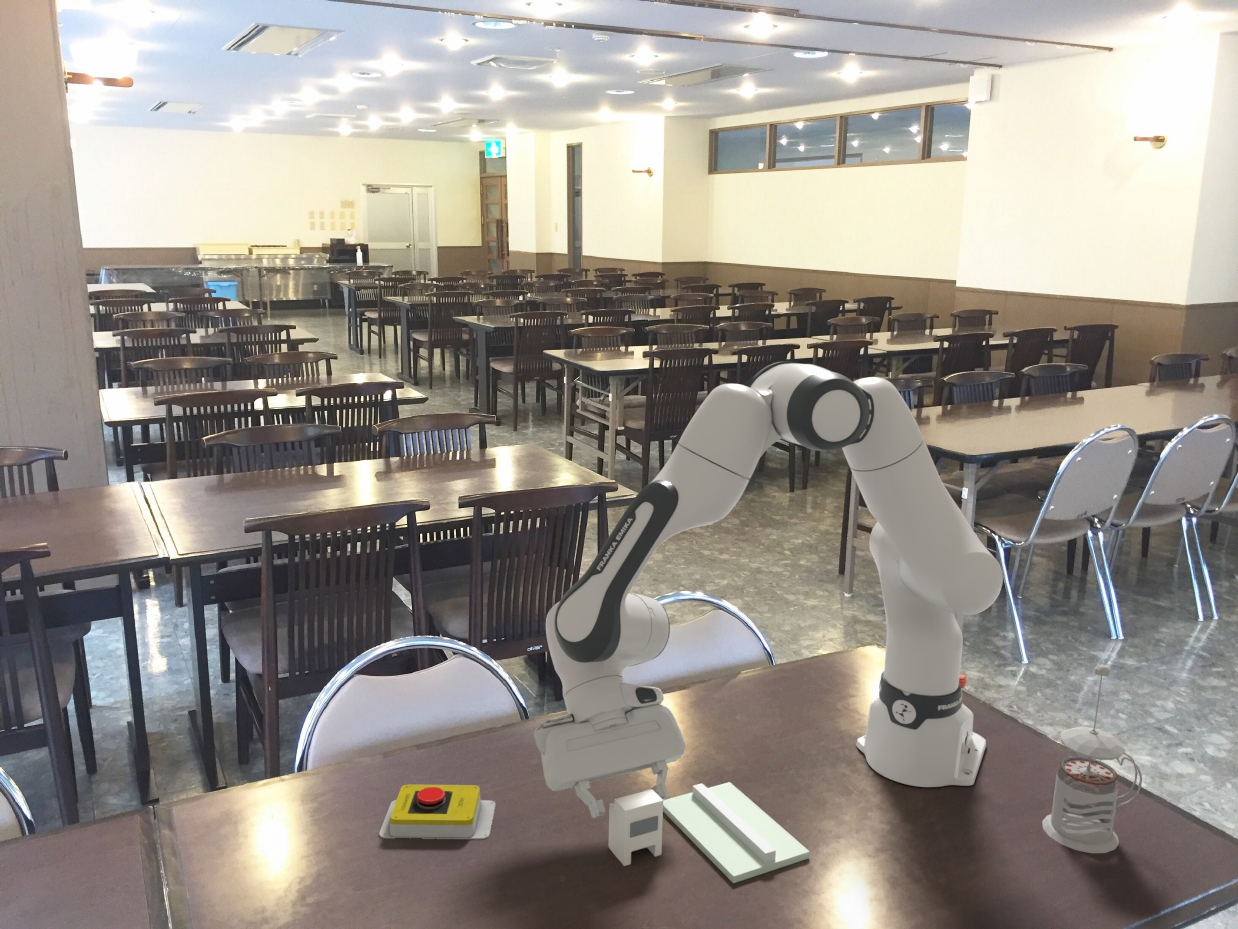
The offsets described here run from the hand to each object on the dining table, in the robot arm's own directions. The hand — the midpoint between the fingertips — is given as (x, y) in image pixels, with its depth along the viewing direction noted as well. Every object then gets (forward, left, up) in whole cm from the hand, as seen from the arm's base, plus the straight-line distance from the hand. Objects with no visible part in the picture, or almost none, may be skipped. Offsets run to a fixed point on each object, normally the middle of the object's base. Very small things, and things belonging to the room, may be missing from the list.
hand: (631, 807), depth 131 cm
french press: (-44, +47, -6) cm, 64 cm away
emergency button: (+12, -24, -7) cm, 28 cm away
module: (0, +1, -6) cm, 6 cm away
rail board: (-12, +9, -6) cm, 16 cm away
